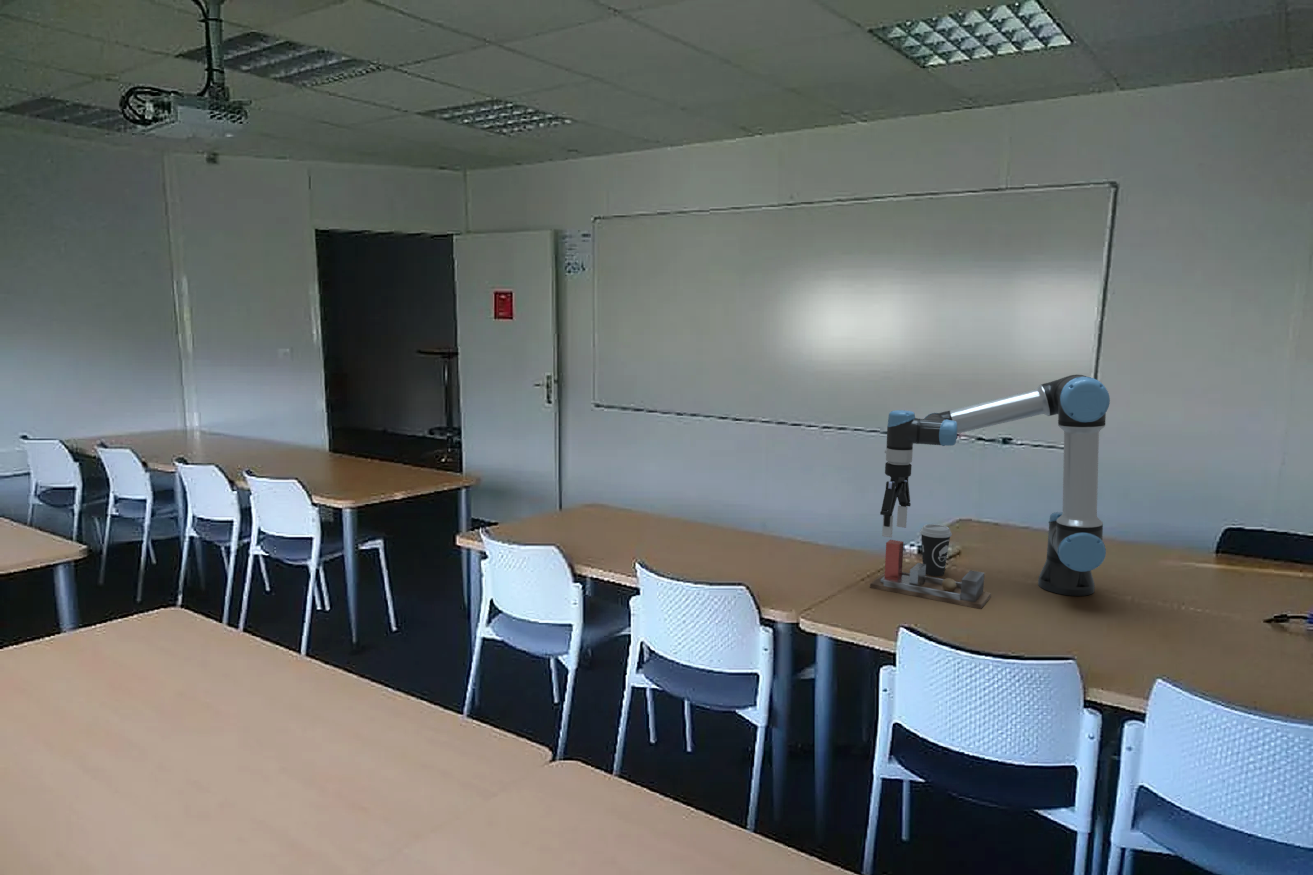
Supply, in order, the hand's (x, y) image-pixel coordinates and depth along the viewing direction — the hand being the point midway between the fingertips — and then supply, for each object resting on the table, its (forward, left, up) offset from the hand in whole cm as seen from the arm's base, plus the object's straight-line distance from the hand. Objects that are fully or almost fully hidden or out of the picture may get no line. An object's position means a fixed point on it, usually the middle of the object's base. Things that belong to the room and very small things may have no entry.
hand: (894, 531), depth 244 cm
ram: (-3, 0, -15) cm, 16 cm away
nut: (-17, 0, -14) cm, 22 cm away
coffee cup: (-7, -19, -17) cm, 27 cm away
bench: (-11, 0, -17) cm, 20 cm away
